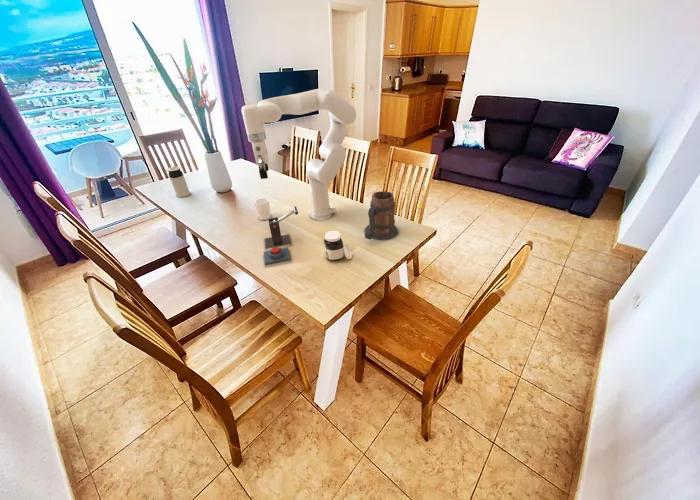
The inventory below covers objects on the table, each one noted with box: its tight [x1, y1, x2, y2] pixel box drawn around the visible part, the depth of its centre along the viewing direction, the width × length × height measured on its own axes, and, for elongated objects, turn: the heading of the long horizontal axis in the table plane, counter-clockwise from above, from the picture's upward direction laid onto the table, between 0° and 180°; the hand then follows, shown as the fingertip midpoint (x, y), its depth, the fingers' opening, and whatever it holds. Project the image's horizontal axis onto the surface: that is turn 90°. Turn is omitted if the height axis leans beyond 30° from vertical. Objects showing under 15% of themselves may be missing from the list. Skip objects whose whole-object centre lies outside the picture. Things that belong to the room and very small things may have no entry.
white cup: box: [253, 197, 272, 221], centre depth 164 cm, size 8×8×10 cm
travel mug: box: [166, 165, 191, 198], centre depth 190 cm, size 8×8×18 cm
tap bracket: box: [264, 216, 292, 249], centre depth 141 cm, size 12×9×13 cm
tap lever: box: [271, 205, 299, 223], centre depth 139 cm, size 14×6×2 cm, turn 106°
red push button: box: [270, 246, 280, 254], centre depth 132 cm, size 4×4×2 cm
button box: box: [263, 247, 291, 266], centre depth 133 cm, size 11×9×4 cm
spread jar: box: [323, 230, 353, 262], centre depth 131 cm, size 12×11×12 cm
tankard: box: [364, 190, 399, 241], centre depth 144 cm, size 24×17×20 cm
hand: (264, 174), depth 138 cm, fingers open, 9 cm apart
